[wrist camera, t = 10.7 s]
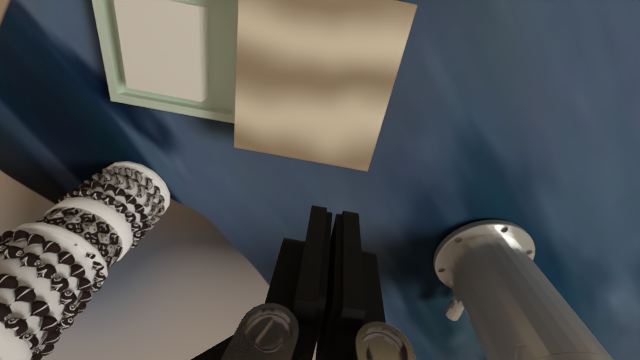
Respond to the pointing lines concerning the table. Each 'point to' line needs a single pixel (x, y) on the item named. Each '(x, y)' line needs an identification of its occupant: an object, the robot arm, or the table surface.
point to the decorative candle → (71, 254)
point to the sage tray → (219, 55)
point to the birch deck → (317, 76)
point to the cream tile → (164, 47)
